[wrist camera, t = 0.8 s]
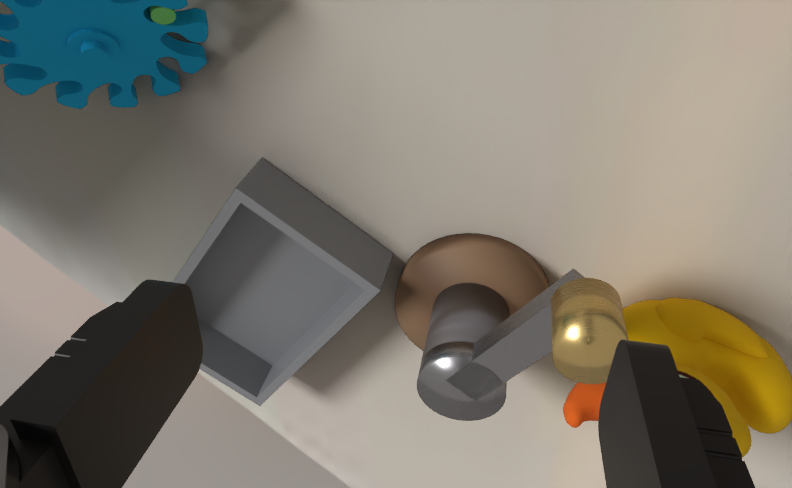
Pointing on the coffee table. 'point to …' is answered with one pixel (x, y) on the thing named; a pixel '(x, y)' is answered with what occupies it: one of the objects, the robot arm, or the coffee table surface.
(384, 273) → the tray
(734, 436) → the duckling
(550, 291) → the crank
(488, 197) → the coffee table surface
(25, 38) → the gear
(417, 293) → the base
